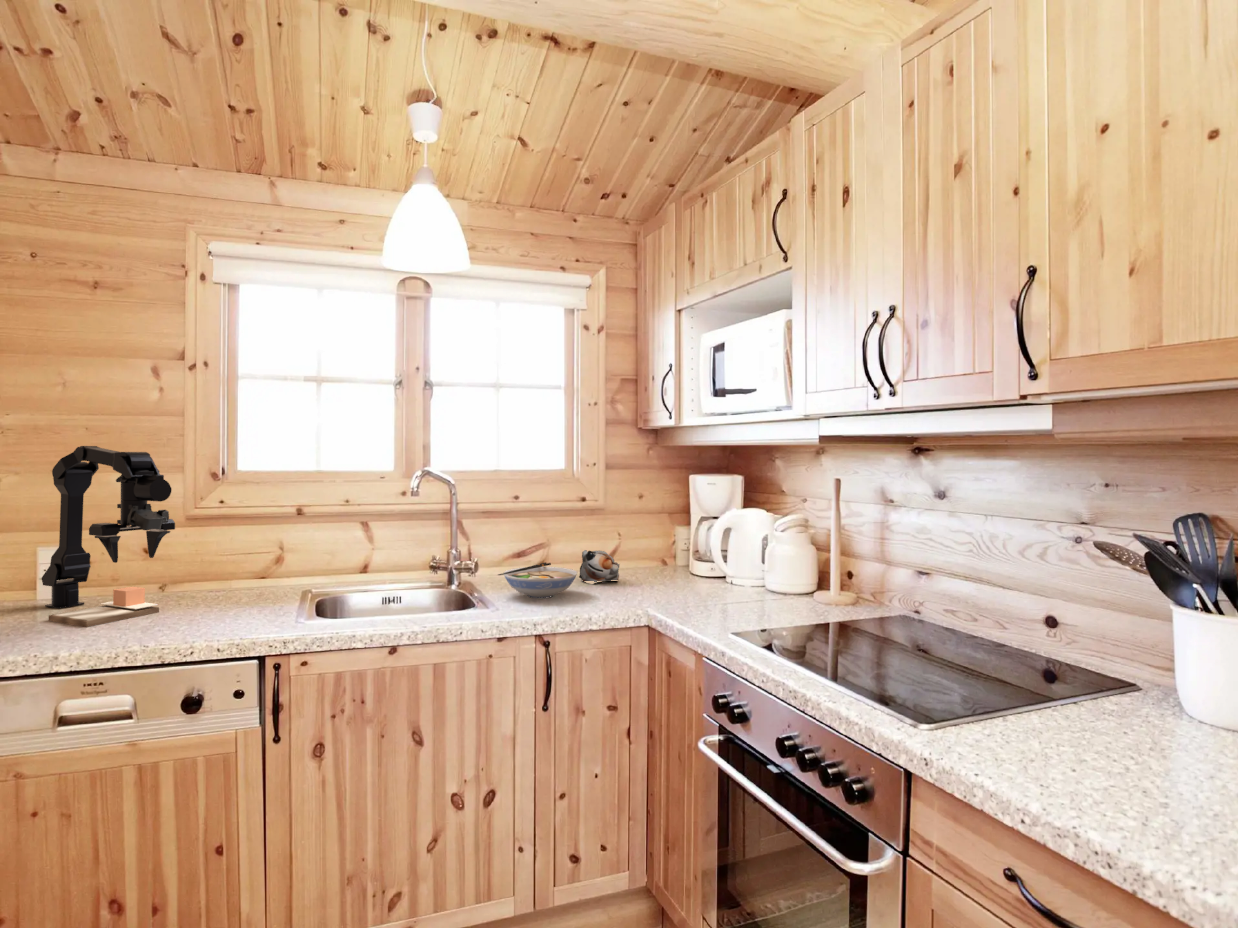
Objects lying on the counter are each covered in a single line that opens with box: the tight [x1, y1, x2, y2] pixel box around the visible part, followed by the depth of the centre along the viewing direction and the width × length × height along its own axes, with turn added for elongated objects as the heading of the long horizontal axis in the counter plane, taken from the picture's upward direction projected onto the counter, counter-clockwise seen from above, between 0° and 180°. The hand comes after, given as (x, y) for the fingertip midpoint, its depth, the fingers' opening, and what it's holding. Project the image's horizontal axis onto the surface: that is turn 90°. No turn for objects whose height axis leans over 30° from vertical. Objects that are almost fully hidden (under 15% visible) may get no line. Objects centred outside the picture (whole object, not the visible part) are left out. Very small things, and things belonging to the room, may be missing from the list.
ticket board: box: [48, 605, 160, 628], centre depth 184 cm, size 15×18×2 cm
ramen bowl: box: [497, 562, 578, 599], centre depth 218 cm, size 25×23×8 cm
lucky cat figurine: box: [578, 549, 621, 582], centre depth 242 cm, size 15×12×14 cm
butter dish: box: [100, 586, 159, 609], centre depth 189 cm, size 14×6×4 cm, turn 68°
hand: (133, 560), depth 184 cm, fingers open, 9 cm apart
